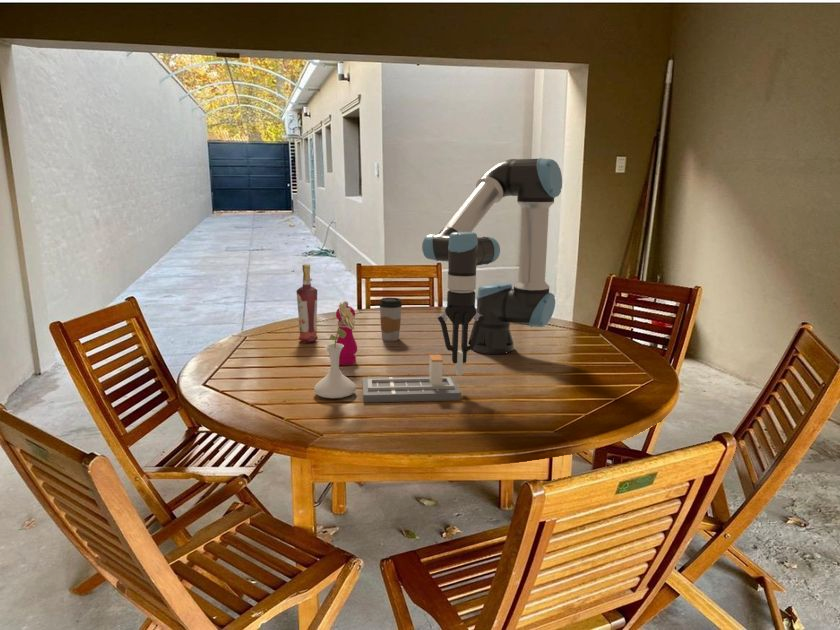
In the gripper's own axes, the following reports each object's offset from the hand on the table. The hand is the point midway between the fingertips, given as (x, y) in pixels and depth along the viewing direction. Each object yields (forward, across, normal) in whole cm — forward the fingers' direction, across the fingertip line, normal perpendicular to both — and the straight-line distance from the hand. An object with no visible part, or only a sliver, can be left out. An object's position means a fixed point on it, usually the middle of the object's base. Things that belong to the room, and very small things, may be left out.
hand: (458, 373), depth 159 cm
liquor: (+5, +45, -55) cm, 71 cm away
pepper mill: (+5, +32, -29) cm, 43 cm away
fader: (+3, +7, 0) cm, 7 cm away
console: (+5, +14, 0) cm, 14 cm away
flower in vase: (+5, +34, 0) cm, 34 cm away
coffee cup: (+5, +15, -57) cm, 59 cm away
